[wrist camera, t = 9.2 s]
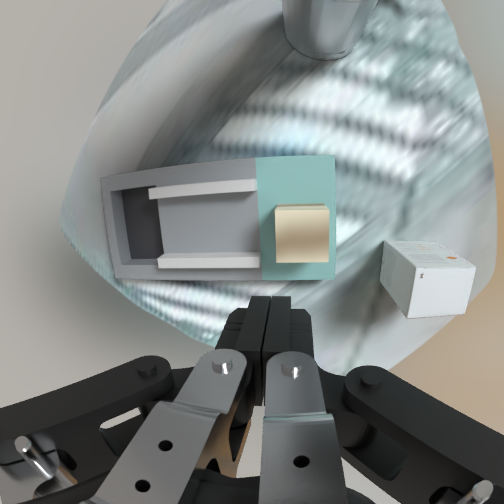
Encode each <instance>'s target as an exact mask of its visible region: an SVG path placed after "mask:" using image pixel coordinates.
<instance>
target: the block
mask: <svg viewBox="0 0 504 504" xmlns="http://www.w3.org/2000/svg"><path fill="white" fill-rule="evenodd" d="M275 231H276V263H301V262H329V209H328V208H327V207H326V205H325V204H324V203H305V204H277V207H276V209H275Z"/></svg>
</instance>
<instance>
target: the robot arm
mask: <svg viewBox="0 0 504 504" xmlns="http://www.w3.org/2000/svg"><path fill="white" fill-rule="evenodd" d="M377 2H378V0H282V7H283V18H284V27H285V34H286V37H287V39H288V41H289V42H290V44H291V45H292V46H293V47H294V48H295V49H296V50H298V51H299V52H301V53H302V54H304V55H306V56H309V57H311V58H315V59H320V60H334V59H338V58H342V57H344V56H346V55H347V54H349V53H350V52H351V51H352V50H353V49H354V47H355V46H356V44H357V42H358V40H359V38H360V36H361V34H362V32H363V30H364V28H365V26H366V24H367V22H368V20H369V18H370V16H371V14H372V12H373V10H374V8H375V6H376V4H377ZM263 396H264V406H265V416H264V418H263V435H262V453H261V472H260V476H255V477H245V478H236V473H237V467H238V464H239V461H240V458H241V455H242V452H243V449H244V446H245V442H246V439H247V436H248V433H249V429H250V426H251V417H252V413H253V408H254V406H262V402H263ZM137 407H138V409H139V411H140V413H141V414H140V415H138V416H136V417H133V418H131V419H129V420H127V421H125V422H122V423H120V424H118V425H115V426H113V427H111V428H107V429H103V428H100V425H101V424H102V423H103V422H105V421H107V420H109V419H112V418H114V417H117V416H119V415H121V414H124V413H126V412H128V411H130V410H133V409H135V408H137ZM341 457H342V458H343V459H344V460H346V461H347V462H348V463H349V464H351V465H352V466H353V467H354V468H355V469H357V470H358V471H359V472H360V473H361V474H363V475H364V476H365V477H366V478H368V479H369V480H370V481H372V482H373V483H374V484H375V485H377V486H378V487H379V488H381V489H382V490H383V491H385V492H386V493H387V494H389V495H390V496H391V497H393V498H394V499H396V500H397V501H398V502H400V503H401V504H504V435H502V434H500V433H498V432H496V431H494V430H492V429H491V428H489V427H487V426H485V425H483V424H481V423H479V422H477V421H476V420H474V419H472V418H470V417H468V416H466V415H464V414H463V413H461V412H459V411H457V410H455V409H454V408H452V407H450V406H448V405H446V404H444V403H443V402H441V401H439V400H437V399H436V398H434V397H432V396H430V395H428V394H427V393H425V392H423V391H422V390H420V389H418V388H416V387H415V386H413V385H411V384H409V383H408V382H406V381H404V380H402V379H401V378H399V377H397V376H396V375H394V374H392V373H390V372H389V371H387V370H385V369H383V368H381V367H377V366H368V365H367V366H360V367H357V368H354V369H353V370H351V371H350V372H349V373H348V374H347V375H346V376H340V375H335V374H331V373H329V372H326V371H324V370H323V369H321V368H320V367H319V366H318V365H317V363H316V361H315V360H314V350H313V337H312V326H311V316H310V314H309V313H308V312H307V311H306V310H305V309H291V296H272V299H271V296H251V299H250V302H249V305H248V308H237V309H236V310H234V311H233V312H232V313H231V314H229V317H228V319H227V321H226V324H225V326H224V330H223V331H222V333H221V336H220V338H219V340H218V343H217V345H216V347H215V350H213V351H210V352H208V353H206V354H204V355H203V356H202V357H201V358H200V359H199V361H198V362H197V364H196V366H195V367H191V368H182V369H171V367H170V364H169V362H168V361H167V360H166V359H164V358H162V357H159V356H144V357H140V358H137V359H134V360H133V361H130V362H127V363H125V364H122V365H120V366H117V367H115V368H112V369H110V370H108V371H105V372H103V373H100V374H97V375H95V376H92V377H89V378H87V379H84V380H82V381H79V382H76V383H73V384H71V385H68V386H65V387H63V388H60V389H57V390H54V391H51V392H48V393H46V394H43V395H40V396H37V397H34V398H31V399H28V400H25V401H22V402H19V403H16V404H13V405H9V406H6V407H3V408H0V496H1V500H2V504H375V503H374V502H373V501H372V500H370V499H369V498H368V497H366V496H364V495H363V494H361V493H359V492H357V491H355V490H353V489H350V488H347V487H346V485H345V479H344V472H343V466H342V461H341Z"/></svg>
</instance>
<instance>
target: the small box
mask: <svg viewBox="0 0 504 504" xmlns="http://www.w3.org/2000/svg"><path fill="white" fill-rule="evenodd" d="M475 269H476V267H475V266H474V265H472V264H471V263H469V262H468V261H466V260H465V259H463V258H461V257H460V256H458V255H457V254H455V253H453V252H452V251H450V250H448V249H447V248H445V247H443V246H441V245H440V244H438V243H436V242H425V241H388V240H384V247H383V256H382V265H381V273H380V282H381V283H382V285H383V286H384V288H385V289H386V290H387V292H388V293H389V294H390V296H391V297H392V299H393V300H394V301H395V303H396V304H397V306H398V307H399V309H400V310H401V311H402V313H403V314H404V316H405V317H406V318H407V319H410V318H425V317H438V316H450V315H460V314H464V313H465V310H466V307H467V303H468V299H469V295H470V291H471V287H472V283H473V279H474V274H475Z"/></svg>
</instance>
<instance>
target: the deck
mask: <svg viewBox="0 0 504 504" xmlns="http://www.w3.org/2000/svg"><path fill="white" fill-rule="evenodd" d="M100 179H101V190H102V199H103V207H104V215H105V222H106V229H107V235H108V241H109V247H110V252H111V258H112V263H113V268H114V273H115V277H116V279H147V280H225V281H245V280H323V279H335V264H336V184H335V159H334V155H310V156H278V157H259V158H244V159H231V160H220V161H210V162H201V163H192V164H184V165H176V166H169V167H161V168H155V169H148V170H142V171H136V172H130V173H124V174H119V175H114V176H109V177H103V178H100ZM305 203H324V204H325V205H326V207H327V208H328V209H329V262H301V263H276V231H275V209H276V207H277V204H305Z"/></svg>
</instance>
